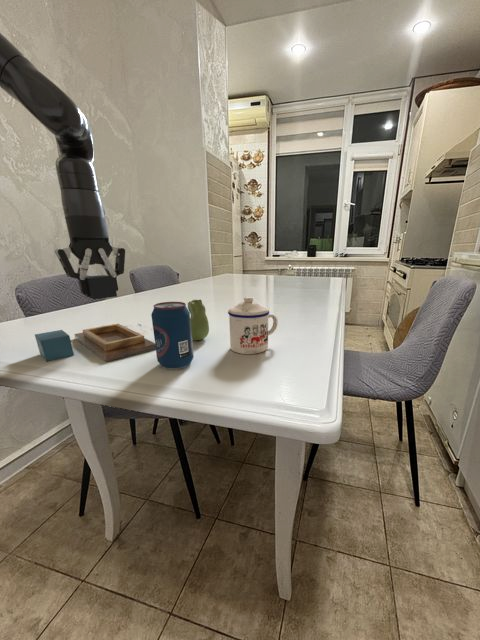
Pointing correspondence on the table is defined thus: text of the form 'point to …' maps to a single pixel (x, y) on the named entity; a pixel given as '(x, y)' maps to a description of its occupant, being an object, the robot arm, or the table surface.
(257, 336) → the teacup with lid
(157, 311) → the soda can
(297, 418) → the table surface
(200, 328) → the pear
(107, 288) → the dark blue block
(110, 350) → the frame
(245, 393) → the table surface
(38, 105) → the robot arm
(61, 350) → the teal block
